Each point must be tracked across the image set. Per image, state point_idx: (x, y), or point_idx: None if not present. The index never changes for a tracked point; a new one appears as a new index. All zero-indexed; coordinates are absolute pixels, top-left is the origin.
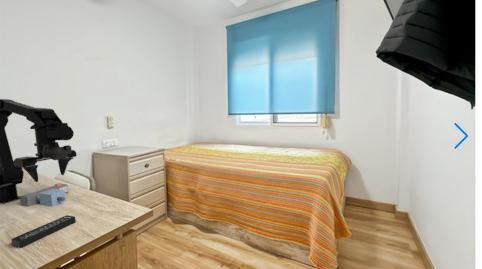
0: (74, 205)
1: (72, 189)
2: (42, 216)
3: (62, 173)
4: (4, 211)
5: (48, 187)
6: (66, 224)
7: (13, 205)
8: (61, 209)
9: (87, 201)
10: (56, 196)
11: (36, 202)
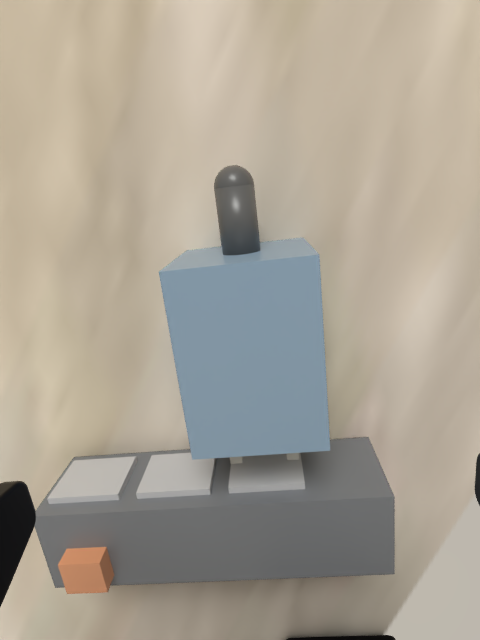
0: (206, 39)
1: None
2: (476, 61)
3: (7, 513)
4: None
5: (167, 579)
6: None
7: None
8: (314, 63)
9: (87, 13)
10: (262, 253)
11: None
